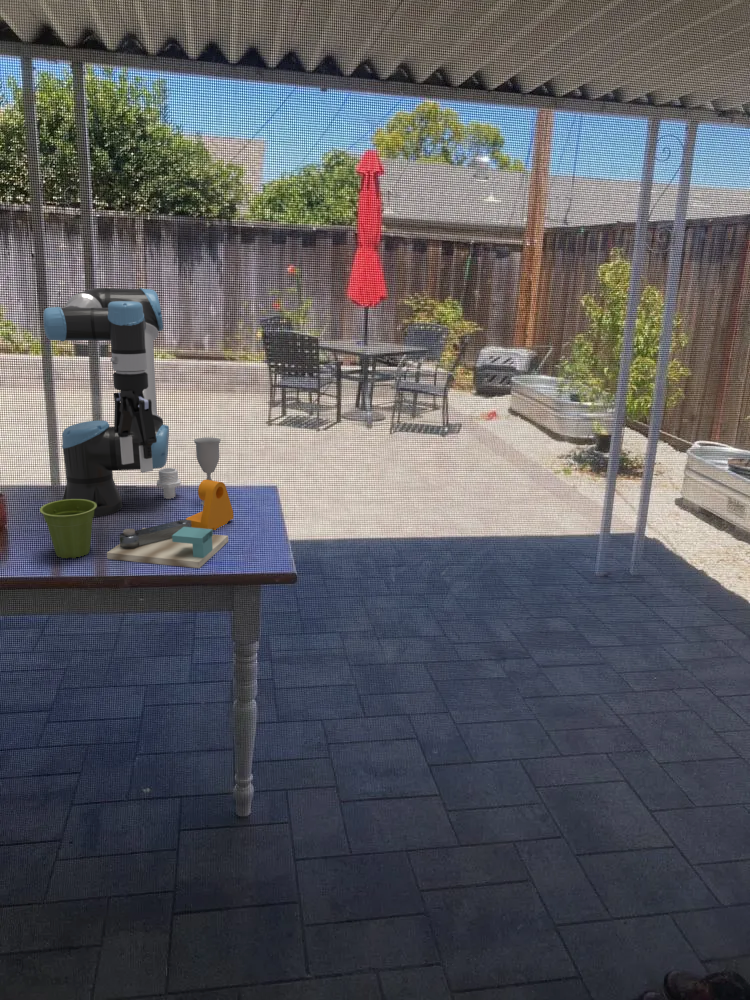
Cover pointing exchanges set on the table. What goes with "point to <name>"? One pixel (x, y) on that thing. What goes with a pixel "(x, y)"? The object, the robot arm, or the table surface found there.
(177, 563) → the base board
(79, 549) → the plant pot
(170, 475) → the pipe fitting
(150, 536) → the link
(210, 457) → the chalice
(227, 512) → the bracket
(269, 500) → the table surface
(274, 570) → the table surface
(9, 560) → the table surface
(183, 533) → the block
